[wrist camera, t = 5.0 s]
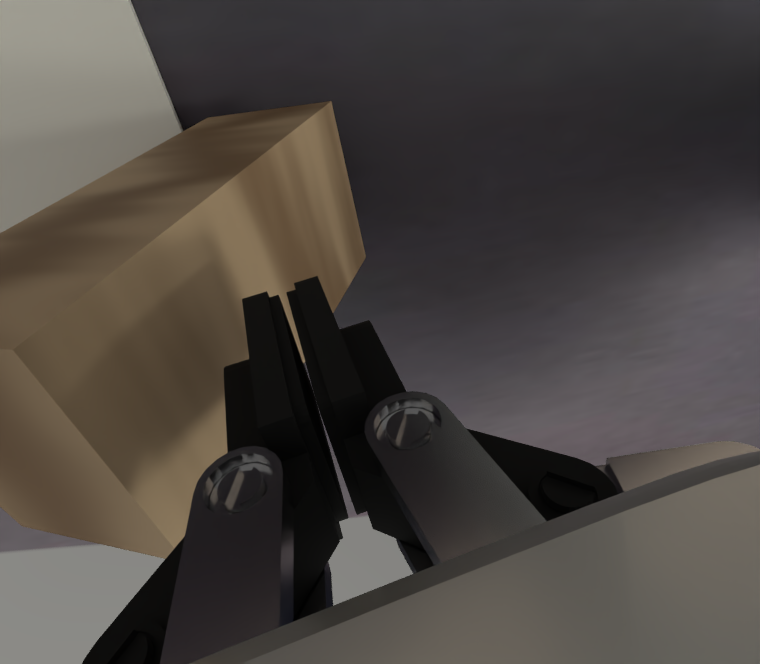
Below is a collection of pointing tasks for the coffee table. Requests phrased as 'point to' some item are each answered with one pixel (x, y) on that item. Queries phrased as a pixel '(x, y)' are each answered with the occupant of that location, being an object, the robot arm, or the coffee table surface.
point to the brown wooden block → (157, 316)
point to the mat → (73, 99)
